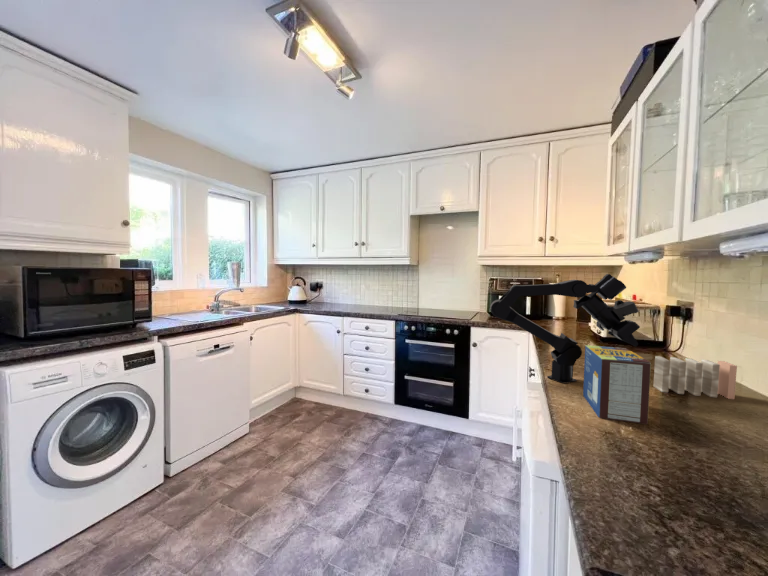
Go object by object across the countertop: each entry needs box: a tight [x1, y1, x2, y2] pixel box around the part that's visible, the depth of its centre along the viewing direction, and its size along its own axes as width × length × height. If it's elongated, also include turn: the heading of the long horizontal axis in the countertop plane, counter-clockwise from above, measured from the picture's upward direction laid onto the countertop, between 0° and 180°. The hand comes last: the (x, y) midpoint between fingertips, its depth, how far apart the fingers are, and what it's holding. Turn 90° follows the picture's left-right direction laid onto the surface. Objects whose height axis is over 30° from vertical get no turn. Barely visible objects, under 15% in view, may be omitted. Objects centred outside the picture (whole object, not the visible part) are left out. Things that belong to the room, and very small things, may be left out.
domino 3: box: [684, 357, 703, 397], centre depth 97 cm, size 2×5×10 cm, turn 163°
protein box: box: [582, 344, 652, 425], centre depth 85 cm, size 10×15×16 cm
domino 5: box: [717, 360, 738, 400], centre depth 95 cm, size 2×5×10 cm, turn 163°
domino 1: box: [653, 355, 670, 393], centre depth 99 cm, size 2×5×10 cm, turn 163°
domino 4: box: [700, 359, 720, 399], centre depth 96 cm, size 2×5×10 cm, turn 163°
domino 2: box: [668, 356, 686, 395], centre depth 98 cm, size 2×5×10 cm, turn 163°
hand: (636, 345), depth 101 cm, fingers closed
